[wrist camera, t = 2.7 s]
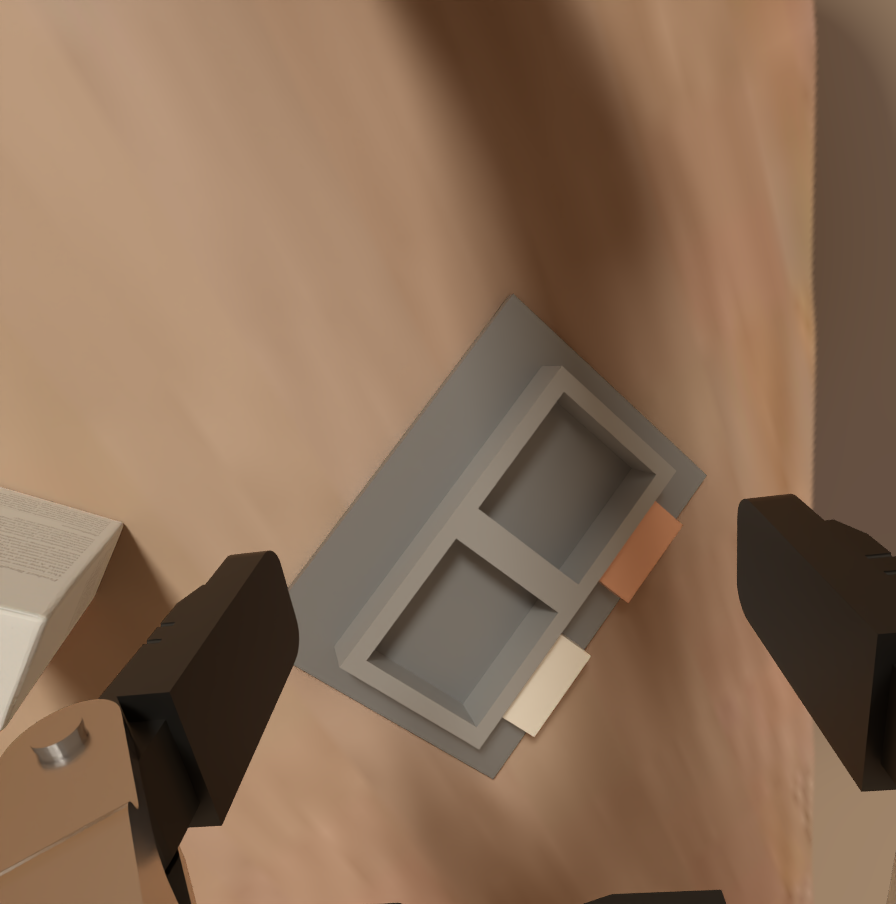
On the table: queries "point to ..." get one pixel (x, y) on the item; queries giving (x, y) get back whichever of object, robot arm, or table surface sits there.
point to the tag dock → (461, 575)
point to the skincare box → (44, 584)
